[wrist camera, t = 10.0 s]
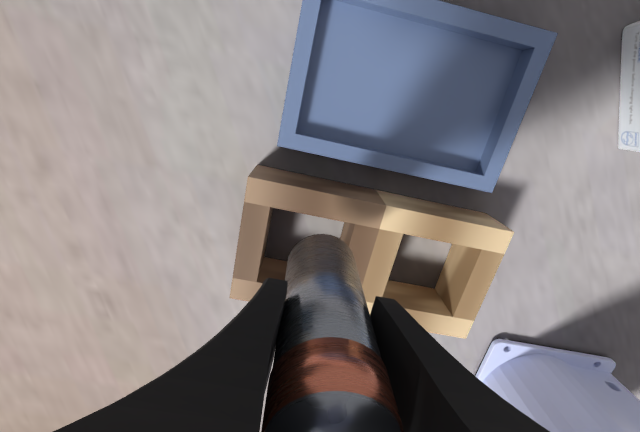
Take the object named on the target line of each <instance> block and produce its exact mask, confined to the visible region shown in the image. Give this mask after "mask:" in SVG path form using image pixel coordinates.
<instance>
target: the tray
mask: <svg viewBox="0 0 640 432" xmlns="http://www.w3.org/2000/svg"><path fill="white" fill-rule="evenodd" d="M557 34H558V33H555V32H552V31H548V30H544V29H541V28H537V27H533V26H530V25H526V24H523V23H519V22H515V21H512V20H508V19H504V18H501V17H497V16H494V15H490V14H486V13H483V12H479V11H475V10H472V9H468V8H465V7H461V6H457V5H454V4H450V3H446V2H443V1H439V0H303V1H302V7H301V13H300V18H299V24H298V30H297V35H296V41H295V47H294V53H293V58H292V64H291V70H290V75H289V81H288V87H287V92H286V98H285V104H284V109H283V115H282V121H281V126H280V132H279V138H278V143H277V146H280V147H285V148H289V149H294V150H298V151H303V152H307V153H312V154H317V155H321V156H326V157H330V158H335V159H339V160H344V161H349V162H353V163H358V164H362V165H367V166H371V167H376V168H380V169H385V170H390V171H394V172H399V173H403V174H408V175H412V176H417V177H422V178H426V179H431V180H435V181H440V182H444V183H449V184H453V185H458V186H463V187H467V188H472V189H476V190H481V191H485V192H490V193H492V192H493V189H494V187H495V184H496V182H497V180H498V177H499V175H500V172H501V170H502V167H503V165H504V163H505V160H506V158H507V155H508V153H509V150H510V148H511V146H512V143H513V141H514V138H515V136H516V134H517V131H518V129H519V126H520V124H521V121H522V119H523V117H524V114H525V112H526V109H527V107H528V104H529V102H530V100H531V97H532V95H533V92H534V90H535V87H536V85H537V83H538V80H539V78H540V75H541V73H542V70H543V68H544V66H545V63H546V61H547V58H548V56H549V53H550V51H551V49H552V46H553V44H554V41H555V39H556V37H557Z"/></svg>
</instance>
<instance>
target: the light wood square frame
mask: <svg viewBox="0 0 640 432" xmlns="http://www.w3.org/2000/svg"><path fill="white" fill-rule="evenodd" d="M376 191H377V192H378V194H379V195H380V197H381V198H382V200H383V201H384V203H385V204H386V209H385V212H384V216H383V219H382V222H381V225H380V229H379V232H378V235H377V239H376V242H375V245H374V248H373V252H372V255H371V258H370V262H369V265H368V268H367V271H366V275H365V278H364V281H363V284H362V288H363V292H364V295H365V299H366V303H367V307H368V310H369V314H370V313H371V310H372V307H373V304H374V300H375V297H376V296H379V297H385V298H390V299H395V300H396V301H397V302H398V303H399V304H400V305H401V306H402V307H403V308H404V309H405V310H406V311H407V312H408V313H409V314H410V315H411V316H412V317H413V318H414V319H415V320H416V321H417V322H418V323H419V324H420V325H421V326H422V327H423V328H424V329H425V330H426V331H427V332H430V333H436V334H442V335H447V336H453V337H459V338H465V339H466V337H467V335H468V333H469V331H470V329H471V326H472V324H473V322H474V320H475V318H476V315H477V313H478V311H479V309H480V307H481V304H482V302H483V300H484V298H485V296H486V293H487V291H488V289H489V287H490V285H491V282H492V280H493V278H494V276H495V274H496V271H497V269H498V267H499V265H500V263H501V260H502V258H503V256H504V254H505V252H506V249H507V247H508V245H509V243H510V241H511V238H512V236H513V234H514V232H513V231H512V230H510V229H509V228H507V227H506V226H504V225H503V224H501V223H500V222H498V221H497V220H495V219H494V218H492V217H491V216H489V215H488V214H486V213H483V212H478V211H473V210H469V209H464V208H459V207H454V206H450V205H445V204H440V203H436V202H431V201H426V200H421V199H417V198H412V197H407V196H403V195H398V194H393V193H389V192H384V191H379V190H376ZM403 234H407V235H412V236H417V237H422V238H427V239H432V240H437V241H442V242H447V243H452V246H451V248H450V251H449V253H448V256H447V258H446V261H445V264H444V266H443V269H442V271H441V274H440V276H439V279H438V281H437V284H436V287H435V289H434V288H429V287H423V286H418V285H413V284H407V283H402V282H396V281H391V280H388V278H389V275H390V272H391V269H392V266H393V263H394V260H395V257H396V254H397V251H398V248H399V245H400V242H401V239H402V236H403Z"/></svg>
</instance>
